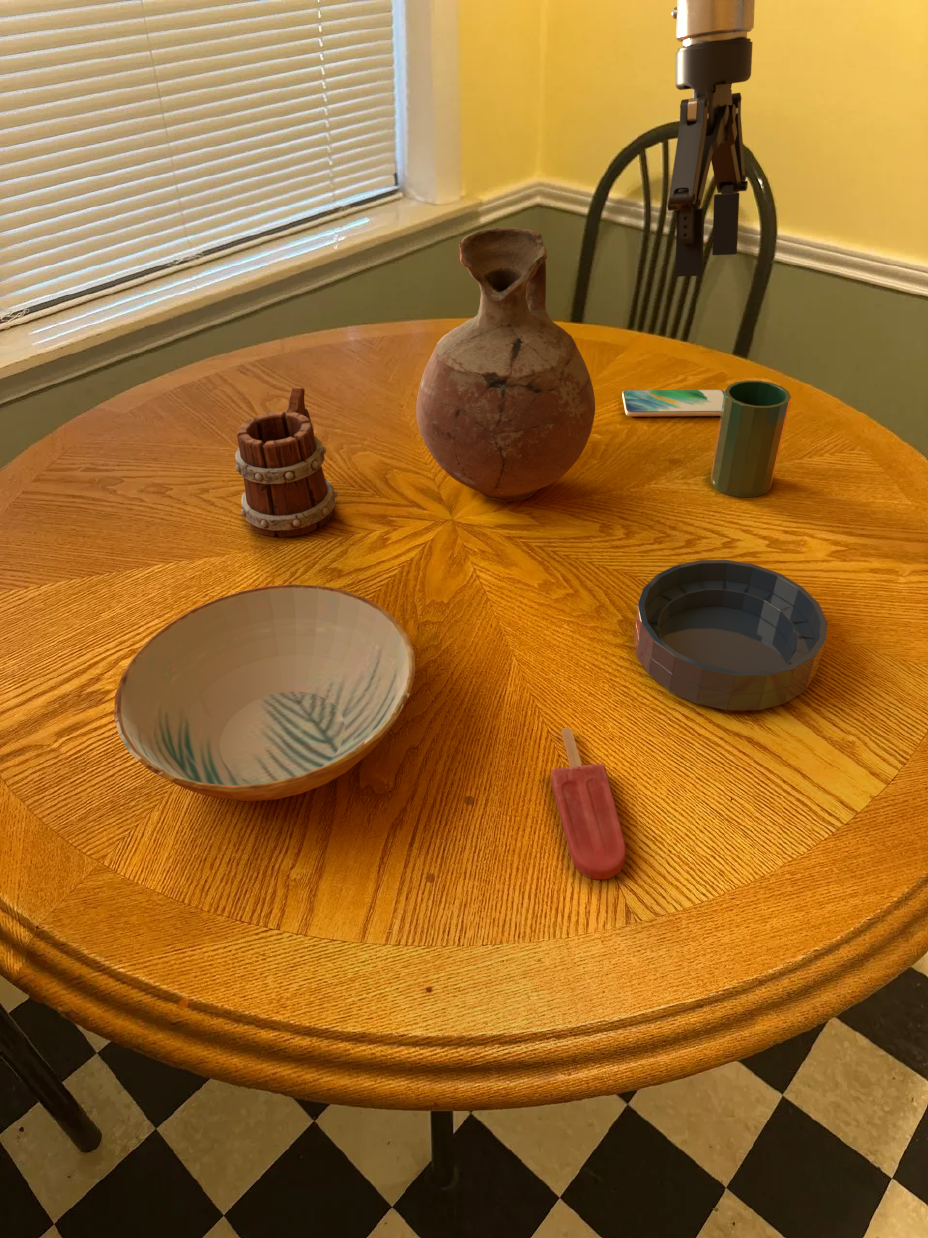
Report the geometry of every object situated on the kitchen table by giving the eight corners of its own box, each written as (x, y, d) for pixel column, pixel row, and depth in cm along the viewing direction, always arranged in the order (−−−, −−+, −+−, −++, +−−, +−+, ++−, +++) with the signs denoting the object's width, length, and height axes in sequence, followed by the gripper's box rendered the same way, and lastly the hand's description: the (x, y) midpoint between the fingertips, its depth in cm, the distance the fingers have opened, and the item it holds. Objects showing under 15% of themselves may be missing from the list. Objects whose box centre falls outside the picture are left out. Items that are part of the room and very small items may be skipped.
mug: (223, 538, 103) (204, 415, 95) (269, 495, 115) (255, 382, 107) (317, 546, 101) (305, 420, 93) (353, 501, 113) (345, 386, 105)
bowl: (450, 662, 85) (446, 599, 80) (373, 880, 66) (361, 815, 61) (217, 632, 90) (199, 570, 85) (83, 826, 71) (50, 762, 66)
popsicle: (591, 718, 76) (635, 865, 65) (589, 732, 77) (633, 878, 66) (540, 724, 76) (575, 872, 64) (540, 737, 77) (574, 885, 65)
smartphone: (732, 411, 122) (626, 412, 123) (731, 417, 123) (625, 417, 123) (724, 388, 127) (621, 389, 128) (723, 394, 128) (621, 394, 129)
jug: (399, 516, 106) (375, 263, 87) (448, 434, 122) (437, 206, 102) (574, 538, 101) (589, 275, 82) (601, 450, 117) (619, 213, 97)
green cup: (751, 463, 112) (768, 376, 105) (782, 491, 107) (803, 401, 99) (699, 473, 111) (713, 385, 103) (728, 502, 106) (745, 411, 98)
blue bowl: (754, 584, 93) (763, 546, 90) (852, 691, 80) (866, 651, 77) (606, 616, 89) (610, 578, 86) (683, 733, 77) (691, 693, 73)
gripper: (712, 46, 98) (707, 247, 108) (634, 45, 80) (637, 286, 90) (780, 36, 94) (768, 245, 105) (715, 31, 76) (708, 284, 87)
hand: (707, 264), depth 97 cm, fingers open, 13 cm apart
